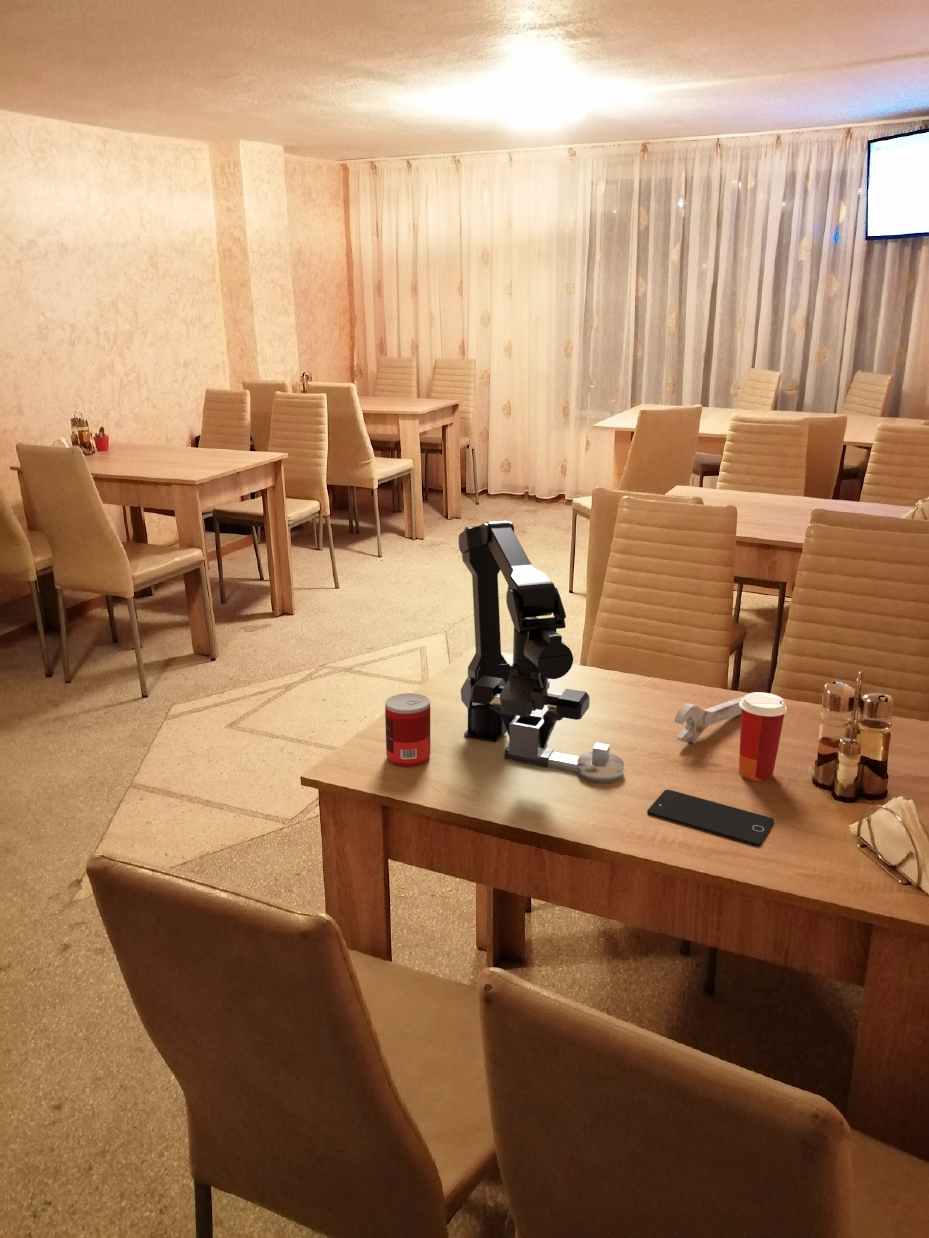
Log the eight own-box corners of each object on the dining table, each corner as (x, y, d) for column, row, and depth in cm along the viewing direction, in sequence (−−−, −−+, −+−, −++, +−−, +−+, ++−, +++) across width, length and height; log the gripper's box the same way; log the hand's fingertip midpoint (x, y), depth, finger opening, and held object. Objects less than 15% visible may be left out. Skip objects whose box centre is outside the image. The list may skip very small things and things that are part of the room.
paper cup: (779, 767, 166) (788, 694, 162) (778, 787, 159) (787, 711, 155) (733, 760, 168) (741, 688, 164) (730, 780, 162) (738, 705, 157)
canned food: (439, 757, 169) (439, 700, 166) (407, 772, 164) (406, 714, 160) (409, 744, 174) (409, 688, 171) (377, 758, 169) (376, 701, 165)
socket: (508, 753, 155) (509, 723, 153) (518, 741, 160) (519, 711, 158) (537, 759, 153) (538, 728, 152) (547, 746, 158) (548, 716, 156)
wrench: (757, 720, 192) (678, 751, 171) (748, 717, 193) (669, 748, 172) (763, 682, 190) (684, 709, 169) (755, 680, 191) (675, 706, 170)
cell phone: (758, 849, 142) (759, 844, 142) (645, 816, 151) (646, 811, 151) (774, 823, 149) (775, 818, 149) (665, 793, 158) (665, 788, 158)
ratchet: (500, 764, 167) (500, 738, 165) (515, 745, 174) (515, 720, 172) (616, 786, 159) (618, 760, 157) (627, 766, 166) (629, 740, 164)
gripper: (457, 664, 148) (457, 754, 152) (573, 682, 141) (568, 776, 146) (483, 642, 157) (482, 727, 162) (592, 658, 151) (588, 746, 156)
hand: (528, 744), depth 156 cm, fingers closed on socket, 5 cm apart
